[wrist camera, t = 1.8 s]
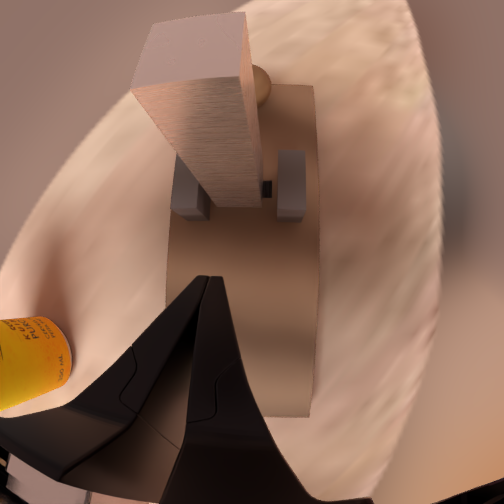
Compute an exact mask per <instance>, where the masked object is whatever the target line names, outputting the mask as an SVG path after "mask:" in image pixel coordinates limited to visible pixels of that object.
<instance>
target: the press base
mask: <svg viewBox="0 0 504 504" xmlns="http://www.w3.org/2000/svg"><path fill="white" fill-rule="evenodd" d="M252 69H253V77H254V86H255V94H256V103H257V112H258V121H259V130H260V139H261V148H262V158H263V180H272V198H262V208H255V207H217V206H216V205H215V203H214V202H213V200H212V199H211V198H210V196H209V195H208V194H207V192H206V191H205V190H204V188H203V187H202V186H201V184H200V183H199V182H198V180H197V179H196V178H195V176H194V175H193V174H192V172H191V171H190V170H189V168H188V167H187V166H186V164H185V163H184V162H183V160H182V159H181V158H180V156H179V155H178V154H177V155H176V163H175V170H174V179H173V188H172V197H171V207H170V209H171V218H170V230H169V243H168V259H167V280H166V307H167V306H168V305H169V304H170V303H171V302H172V301H173V300H174V299H175V298H176V297H177V296H178V295H179V294H180V293H181V292H182V290H183V289H184V288H185V287H186V286H187V285H188V284H189V283H190V282H191V281H192V280H193V279H194V278H195V277H196V276H197V275H208V276H222V277H223V279H224V284H225V288H226V293H227V297H228V302H229V306H230V311H231V315H232V319H233V324H234V328H235V332H236V336H237V341H238V345H239V349H240V353H241V358H242V361H243V365H244V369H245V372H246V376H247V379H248V382H249V385H250V388H251V390H252V393H253V396H254V398H255V400H256V403H257V405H258V407H259V409H260V412H261V414H262V416H263V417H309V415H310V406H311V396H312V386H313V375H314V363H315V349H316V333H317V315H318V290H319V176H318V152H317V133H316V118H315V105H314V93H313V86H305V85H278V84H271V81H270V78H269V76H268V75H267V73H266V72H265V71H264V70H263V69H262V68H260V67H258V66H256V65H252Z"/></svg>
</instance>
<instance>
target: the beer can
mask: <svg viewBox="0 0 504 504" xmlns="http://www.w3.org/2000/svg"><path fill="white" fill-rule="evenodd" d="M71 367H72V354H71V349H70V346H69V343H68V341H67V339H66V337H65V335H64V334H63V332H62V331H61V330H60V329H59V328H58V327H57V326H56V325H55V324H54V323H53V322H52V321H51V320H49V319H48V318H45V317H41V316H39V317H28V318H18V319H6V320H0V411H2V410H5V409H8V408H10V407H13V406H15V405H18V404H20V403H23V402H25V401H28V400H30V399H33V398H35V397H37V396H40V395H42V394H45V393H47V392H49V391H52V390H54V389H56V388H59V387H61V386H63V385H64V384H65V383H66V382H67V380H68V378H69V376H70V371H71Z"/></svg>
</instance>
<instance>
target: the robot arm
mask: <svg viewBox="0 0 504 504" xmlns="http://www.w3.org/2000/svg"><path fill="white" fill-rule="evenodd" d="M149 502H151V503H159V504H374V503H373V500H372V498H371V497H362V498H355V499H348V500H339V501H321V500H318V499H316V498H314V497H312V496H311V495H310V494H309V493H308V492H307V491H306V489H305V488H304V486H303V485H302V484H301V482H300V481H299V479H298V478H297V476H296V475H295V473H294V472H293V470H292V469H291V467H290V466H289V464H288V463H287V461H286V460H285V458H284V457H283V455H282V454H281V452H280V450H279V449H278V447H277V445H276V443H275V441H274V439H273V437H272V435H271V433H270V431H269V429H268V427H267V425H266V423H265V420H264V418H263V416H262V414H261V412H260V409H259V407H258V405H257V403H256V400H255V398H254V396H253V393H252V390H251V388H250V385H249V382H248V379H247V376H246V372H245V369H244V365H243V361H242V358H241V353H240V349H239V345H238V341H237V336H236V332H235V328H234V324H233V319H232V315H231V311H230V306H229V302H228V297H227V293H226V288H225V284H224V279H223V277H222V276H208V275H197V276H196V277H195V278H194V279H193V280H192V281H191V282H190V283H189V284H188V285H187V286H186V287H185V288H184V289H183V290H182V292H181V293H180V294H179V295H178V296H177V297H176V298H175V299H174V300H173V301H172V302H171V303H170V304H169V305H168V306H167V307H166V308H165V309H164V310H163V312H162V313H161V314H160V315H159V316H158V317H157V318H156V319H155V320H154V321H153V322H152V323H151V324H150V325H149V326H148V328H147V329H146V330H145V331H144V332H143V333H142V334H141V335H140V336H139V337H138V338H137V339H136V340H135V342H134V343H133V344H132V346H130V347H129V348H128V349H127V350H126V351H125V352H124V353H123V354H122V355H121V356H120V357H119V358H118V360H117V361H116V362H115V363H114V364H113V365H112V366H111V367H109V368H108V369H107V370H106V371H105V372H104V373H103V374H102V375H101V376H100V377H99V378H97V379H96V380H95V381H94V382H93V383H92V384H91V385H89V386H88V387H87V388H86V389H85V390H84V391H83V392H82V393H80V394H79V395H78V396H77V397H76V398H75V399H73V400H72V401H70V402H69V403H67V404H65V405H63V406H60V407H57V408H53V409H49V410H45V411H41V412H36V413H32V414H28V415H23V416H19V417H13V418H3V417H0V504H149ZM432 504H504V478H501V479H499V480H496V481H493V482H491V483H488V484H485V485H482V486H479V487H476V488H473V489H471V490H468V491H465V492H463V493H460V494H457V495H454V496H452V497H449V498H447V499H444V500H441V501H438V502H435V503H432Z"/></svg>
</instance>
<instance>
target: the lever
mask: <svg viewBox="0 0 504 504" xmlns="http://www.w3.org/2000/svg"><path fill="white" fill-rule="evenodd" d="M130 91H131V92H132V93H133V95H134V96H135V97H136V99H137V100H138V101H139V103H140V104H141V105H142V107H143V108H144V109H145V111H146V112H147V113H148V115H149V116H150V117H151V119H152V120H153V121H154V123H155V124H156V126H157V127H158V128H159V130H160V131H161V132H162V134H163V135H164V136H165V138H166V139H167V140H168V142H169V143H170V144H171V146H172V147H173V148H174V150H175V151H176V152H177V154H178V155H179V156H180V158H181V159H182V160H183V162H184V163H185V164H186V166H187V167H188V168H189V170H190V171H191V172H192V174H193V175H194V176H195V178H196V179H197V180H198V182H199V183H200V184H201V186H202V187H203V188H204V190H205V191H206V192H207V194H208V195H209V196H210V198H211V199H212V200H213V202H214V203H215V205H216V206H217V207H255V208H262V198H272V180H263V158H262V148H261V139H260V130H259V121H258V112H257V103H256V94H255V86H254V77H253V69H252V61H251V53H250V45H249V37H248V29H247V22H246V14H245V12H232V13H220V14H210V15H203V16H195V17H188V18H182V19H176V20H170V21H166V22H160V23H156V24H153V26H152V28H151V31H150V33H149V35H148V38H147V41H146V43H145V46H144V48H143V51H142V54H141V56H140V59H139V62H138V65H137V68H136V71H135V74H134V77H133V80H132V83H131V86H130Z"/></svg>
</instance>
